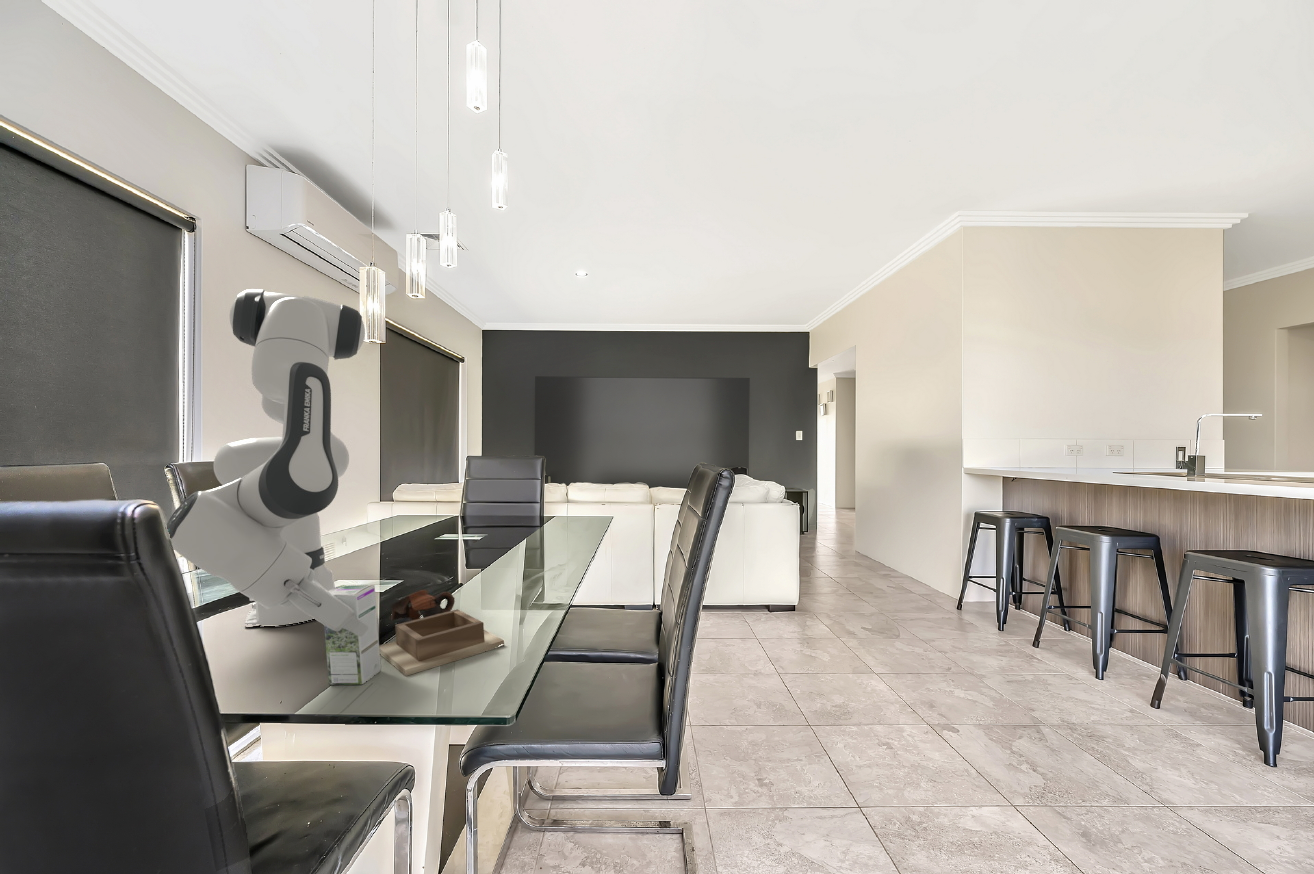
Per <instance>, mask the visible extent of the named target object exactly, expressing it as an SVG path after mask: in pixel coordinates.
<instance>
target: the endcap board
mask: <svg viewBox="0 0 1314 874" xmlns="http://www.w3.org/2000/svg"><path fill="white" fill-rule="evenodd" d="M484 626H485V625H484V622H483V621H481V620H479V619H477V618H475V617H474V616H472V615H470V614H468V613H466V612H464V611H462V610H460V609H458V608H456V609H454V610H453V609H452V610H451V611H449V612H445V613H441V614H437V615H433V616H429V617H425V618H423V617H420V619H417V620H413V621H412V620H409V621H406V622H405V621H404V622H402V623H398V624H395V625H394V628H395V641H392V642H388V643H384V644H379V653H380V654H381V655H380V656H381V657H382V658H384V657H385V658H384V659H385V660H388V663H390V664H391V665H392V666H393V665H394V666H395V667H394V666H393V667H394V668H396V669H397V670H398V671H399V672H400V673H401V674H402V675H404V676H405V677H407V676H412V675H414V674H417V673H421V672H423V671H426V670H430V669H433V668H437V667H440V666H443V665H446V664H449V663H454V662H457V661H459V660H463V659H466V658H469V657H472V656H473V657H474V656H476V655H479V654H482V653H486V652H488V651H492V650H494V649H493V648H495V647H498V646H499V645H501V644H504V645H505V639H503V638H501V637H499V636H497V635H495V634H493V633H491V632H490V631H488V630H485V627H484ZM491 649H492V650H491ZM485 651H486V652H485Z"/></svg>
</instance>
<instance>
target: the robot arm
mask: <svg viewBox="0 0 1314 874" xmlns="http://www.w3.org/2000/svg"><path fill="white" fill-rule="evenodd" d="M229 323H230V327H231V329H232V333H233V336H234V337H235V338H236V339H237V340H238V341H240V342H241V343H243V344H245V345H249V346H251V347H254V349H253V355H252V360H251V381H252V384H253V387H255V389H256V390H257V391H258V393H260V394H261V407H262V410H263V412H264V413H265V414H266V415H267V416H268V417H269V418H270V419H272V420H274V421H275V422H277V423H280V424H282V436H271V437H270V436H269V437H268V436H267V437H251V438H250V437H249V438H245V439H241V440H236V441H232V442H228V443H225V444H223V446H221V447H220V448H219V449H218V451H217V452H216V454H215V456H214V459H213V472H214V475H215V478H216V479H217V481H218V482H219V484H221V486H217V487H215V488H212V489H211V488H210V489H207V490H198V491H194V492H193V493H191V494H190V495H188V496H187V497H186V498H185V499H184V500H183V501H182V502H181V504H180V505H179V506H178V507H177V508H176V509H175V511H174V512H173V513H172V514H171V515H170V518H169V519H168V521H167V523H166V525H167V529H168V532H169V534H170V538H171V540H172V545H173V547H174V549H173V550H175V552H176V553H177V554H179V555H180V556H182V558H184V559H186V560H187V561H188V562H190V563H191V564H192V565H194V566H196V567H197V568H198V569H201V570H202V571H204V572H205V573H207V574H208V575H211V576H212V577H218V578H219V579H220V578H221V579H222V580H224V581H226V582H228V583H229V585H231V586H232V587H233V588H234V589H235V591H237V592H239V593H241V594H242V595H244V596H245V597H247V598H249V600H248V601H251V602H252V601H253V603H252V604H251V607H252V611H248V613H247V615H246V618H245V622H244V625H245V624H247V625H248V624H252V625H256V624H260V625H285V624H289V623H298V624H300V623H299V622H302V621H307V622H309V621H308V620H311V619H313V618H314V619H315V620H316V621H317V622H318V623H320V624H322V625H323V626H324V625H325V626H326V627H328V628H330V629H331V630H334V631H340V630H341V629H342V628H344V629H346V630H348V631H351V632H353V633H354V634H356V635H358V636H363V635H364V633H365V632H366V631H367V630H368V626H367V625H365V624H364V623H362V622H361V621H359V620H358V619H357V618H355V617H354V616H353V614H354V611H353V609H352V608H350V607H349V606H348V605H347V604H345V603H344V602H343V601H341V600H340V599H338V598H337V597H335V596H334V595H332V594H331V593H330V592H328V591H329V590H331V589H333V588H336V586H335V577H334V572H333V570H331V569H329V568H327V567H326V566H325V562H326V560H325V559H326V558H325V556H326V554H325V549H324V547H323V546H322V539H321V526H320V525H321V524H320V516H319V514H318V513H320V512H321V511H323V510H325V509H326V508H327V507H328V506H330V505H331V503H332V502H333V500H335V498H336V495H337V492H338V488H339V478H341V477H342V476H343V475H344V474H345V472H346V471H347V469H348V467H349V463H350V453H349V450H348V447H347V446H346V445H345V443H344V442H343V441H342V440H341V439H340V438H338V437H337V436H336V435H335V434H334V433H333V432H332V431H331V430H332V428H331V427H332V426H331V425H332V420H331V419H332V392H331V391H332V390H331V382H330V379H329V376H328V369H329V362H330V358H331V357H332V358H334V360H335V361H336V360H339V359H340V360H341V359H343V360H345V359H350V358H352V357H354V356H356V355H357V354H358V351H359V350H360V349H361V347H362V346H363V343H364V341H365V335H366V329H365V325H364V321H363V316H362V315H361V314H360V311H359V310H357V309H355V308H353V307H351V306H347V305H346V304H343V303H342V304H341V305H339V304H336V303H333V302H330V301H328V300H323V299H319V298H316V297H310V296H308V295H307V296H306V295H304V296H300V295H297V294H296V295H295V294H289V293H279V292H274V291H273V292H272V291H270V292H269V291H265V290H264V289H254V288H251V289H246V290H243V291H242V292H240V293H238V294H237V296H236V298H235V300H234V301H233V302H232V304H231V307H230V310H229ZM249 612H251V613H249ZM248 614H250V615H248ZM315 620H314V621H315ZM311 621H312V620H311Z"/></svg>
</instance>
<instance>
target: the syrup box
mask: <svg viewBox="0 0 1314 874" xmlns="http://www.w3.org/2000/svg"><path fill="white" fill-rule="evenodd" d="M375 586H376V585H375V584H373V583H371V584H370V583H369V584H342V585H339V586H335V588H333V589H331V590H329V591H328V592H330V593H331V594H332V595H334V596H335V597H337V598H338V599H340V600H341V601H343V602H344V603H345V604H347V605H348V606H349V607H350V608H352V609H353V611H354V614H353V616H354V617H355V618H357V619H358V620H359V621H361V622H362V623H364V624H365V625H367V626H368V630H367V631H366V632H365V633H364V635H363V636H358V635H356V634H354V633H353V632H351V631H348V630H346V629H344V628H342V629H341V630H340V631H334V630H331V629H330V628H328V627H326V626H325V625H323V626H324V637H325V638H324V639H325V651H326V653H325V654H326V662H327V663H326V665H327V676H328V685H331V686H334V685H335V686H336V685H341V686H344V685H348V686H349V685H353V686H355V685H356V686H357V685H364V684H365V683H367V682H368V681H369V680H371V679H372V678H373V677H374V675H375V676H376V675H377V674H379V672H381V670H382V665H381V655H380V653H379V646H380V641H379V629H378V627H379V626H378V612H377V598H376V597H377V596H376V587H375ZM370 678H371V679H370ZM366 681H367V682H366Z"/></svg>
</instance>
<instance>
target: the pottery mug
mask: <svg viewBox="0 0 1314 874" xmlns="http://www.w3.org/2000/svg"><path fill="white" fill-rule="evenodd" d="M444 600H446V605H445V607H442V606H441V604H442V601H444ZM455 602H456V601H455V596H453V594H452V593H451V592H449V591H442V592H440V593H438V594H436V595H435V594H434V595H430V594H429V593H428V592H427V589H421V590H418V591H415V592H413V593H411V594H408V595H406V596H404V597H403V598H402V597H401V598H400V599H399V600H397V601H396V602H394V603H392V605H390V607H389V608H390V611H391V615H390V620H391V621H392V622H393V621H395V620H398V619H409V620H410V621H413V620H417V619H421V615H422V618H425V617H429V616H433V615H437V614H441V613H445V612H449V611H452V610H453V608H454V605H455ZM409 604H411V605H409Z"/></svg>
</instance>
